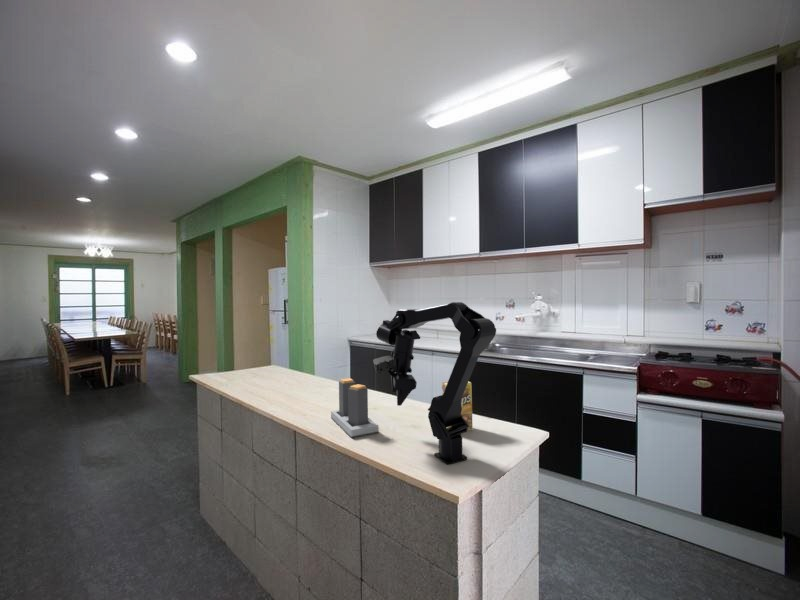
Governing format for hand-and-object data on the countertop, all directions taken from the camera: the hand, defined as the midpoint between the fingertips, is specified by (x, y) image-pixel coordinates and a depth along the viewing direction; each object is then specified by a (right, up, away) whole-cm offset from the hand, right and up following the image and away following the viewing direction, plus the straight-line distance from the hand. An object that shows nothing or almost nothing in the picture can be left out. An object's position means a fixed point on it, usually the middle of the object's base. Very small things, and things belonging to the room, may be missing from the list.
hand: (396, 398), depth 111 cm
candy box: (+20, -12, +5) cm, 23 cm away
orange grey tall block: (-13, -12, +7) cm, 18 cm away
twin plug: (-18, -12, +16) cm, 27 cm away
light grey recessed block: (-15, -12, +11) cm, 22 cm away
